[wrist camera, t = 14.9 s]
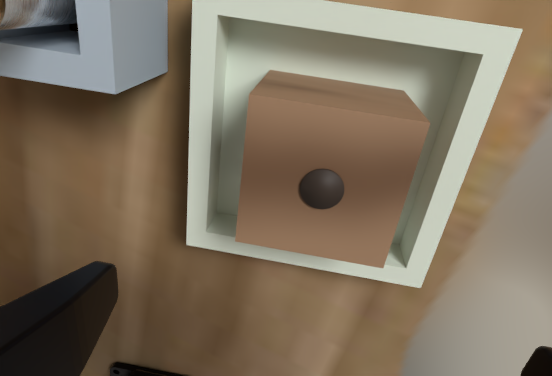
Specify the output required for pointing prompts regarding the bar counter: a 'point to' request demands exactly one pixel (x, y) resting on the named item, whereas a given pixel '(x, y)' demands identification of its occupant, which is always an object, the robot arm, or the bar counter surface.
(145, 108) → the bar counter surface
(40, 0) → the cylinder
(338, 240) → the walnut block
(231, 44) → the tray
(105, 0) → the bored block
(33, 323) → the robot arm
